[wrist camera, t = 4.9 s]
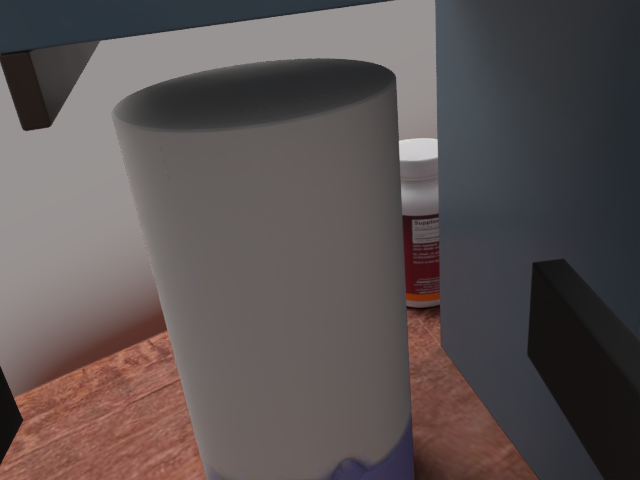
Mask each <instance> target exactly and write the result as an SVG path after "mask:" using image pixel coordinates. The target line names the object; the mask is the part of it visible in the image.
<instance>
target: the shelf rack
mask: <svg viewBox="0 0 640 480" xmlns="http://www.w3.org/2000/svg"><path fill="white" fill-rule="evenodd" d="M386 1H393V0H0V54H1V55H0V63H1V66H2V69H3V72H4V75H5V78H6V81H7V84H8V87H9V90H10V93H11V96H12V99H13V102H14V105H15V108H16V111H17V114H18V117H19V120H20V123H21V126H22V129H23V130H25V131H29V130H35V129H42V128H48V127H50V126H51V125H52V124H53V122H54V120H55V118H56V117H57V115H58V113H59V111H60V110H61V108H62V106H63V104H64V103H65V101H66V99H67V97H68V96H69V94H70V92H71V91H72V89H73V87H74V85H75V84H76V82H77V80H78V78H79V76H80V75H81V73H82V72H83V70H84V68H85V66H86V65H87V63H88V61H89V59H90V58H91V56H92V54H93V52H94V51H95V49H96V47H97V45H98V44H99V42H100V41H101V40H108V39H116V38H124V37H131V36H138V35H145V34H152V33H160V32H167V31H175V30H182V29H189V28H196V27H204V26H211V25H218V24H226V23H233V22H239V21H247V20H254V19H262V18H269V17H276V16H283V15H291V14H298V13H306V12H313V11H320V10H328V9H335V8H342V7H349V6H357V5H364V4H371V3H379V2H386ZM435 3H436V5H435V6H436V65H437V67H436V70H437V134H438V198H439V261H440V325H441V347H442V348H443V349H444V351H445V352H446V353H447V355H448V356H449V357H450V359H451V360H452V362H453V363H454V364H455V366H456V367H457V368H458V370H459V371H460V372H461V374H462V375H463V376H464V378H465V379H466V381H467V382H468V383H469V385H470V386H471V387H472V389H473V390H474V391H475V393H476V394H477V396H478V397H479V398H480V400H481V401H482V402H483V404H484V405H485V406H486V408H487V409H488V410H489V412H490V413H491V415H492V416H493V417H494V419H495V420H496V421H497V423H498V424H499V425H500V427H501V428H502V430H503V431H504V432H505V434H506V435H507V436H508V438H509V439H510V440H511V442H512V443H513V444H514V446H515V447H516V449H517V450H518V451H519V453H520V454H521V455H522V457H523V458H524V459H525V461H526V462H527V464H528V465H529V466H530V468H531V469H532V470H533V472H534V473H535V474H536V476H537V477H538V478H539V480H604V479H603V477H602V475H601V474H600V472H599V471H598V469H597V467H596V466H595V464H594V463H593V461H592V459H591V458H590V456H589V454H588V453H587V451H586V450H585V448H584V446H583V445H582V443H581V441H580V440H579V438H578V437H577V435H576V433H575V432H574V430H573V428H572V427H571V425H570V424H569V422H568V420H567V419H566V417H565V415H564V414H563V412H562V411H561V409H560V407H559V406H558V404H557V403H556V401H555V399H554V398H553V396H552V394H551V393H550V391H549V390H548V388H547V386H546V385H545V383H544V381H543V380H542V378H541V377H540V375H539V373H538V372H537V370H536V368H535V367H534V365H533V364H532V362H531V360H530V359H529V357H528V355H527V348H528V331H529V314H530V297H531V280H532V263H533V262H540V261H548V260H556V259H565V260H566V261H567V262H568V263H569V265H570V266H571V267H572V268H573V269H574V270H575V271H576V272H577V273H578V274H579V275H580V277H581V278H582V279H583V280H584V281H585V282H586V283H587V284H588V285H589V286H590V287H591V289H592V290H593V291H594V292H595V293H596V294H597V295H598V296H599V297H600V298H601V299H602V300H603V302H604V303H605V304H606V305H607V306H608V307H609V308H610V309H611V310H612V311H613V312H614V314H615V315H616V316H617V317H618V318H619V319H620V320H621V321H622V322H623V323H624V324H625V326H626V327H627V328H628V329H629V330H630V331H631V332H632V333H633V334H634V335H635V336H636V337H637V339H638V340H639V341H640V0H435Z"/></svg>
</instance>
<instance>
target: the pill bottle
mask: <svg viewBox="0 0 640 480" xmlns="http://www.w3.org/2000/svg"><path fill="white" fill-rule="evenodd" d="M399 155H400V177H401V199H402V221H403V243H404V264H405V286H406V306H409V307H416V308H424V307H432V306H437V305H440V261H439V198H438V139H431V138H430V139H429V138H418V139H407V140H402V141H399Z"/></svg>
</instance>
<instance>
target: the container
mask: <svg viewBox="0 0 640 480" xmlns="http://www.w3.org/2000/svg"><path fill="white" fill-rule="evenodd" d="M397 113H398V112H397V90H396V76H395V74H394V73H393V72H392V71H390V70H389V69H387V68H386V67H383V66H381V65H378V64H374V63H369V62H364V61H357V60H346V59H295V60H278V61H267V62H257V63H251V64H244V65H235V66H230V67H224V68H219V69H213V70H208V71H203V72H199V73H194V74H190V75H186V76H182V77H178V78H175V79H171V80H168V81H164V82H161V83H158V84H155V85H153V86H150V87H147V88H145V89H142V90H140V91H137V92H135V93H133V94H131V95H129V96H128V97H126V98H124V99H123V100H122V101H120V102H119V103H118V104H117V105H116V106H115V108H114V109H113V111H112V118H113V122H114V125H115V129H116V133H117V137H118V141H119V145H120V149H121V153H122V156H123V160H124V164H125V168H126V172H127V176H128V179H129V183H130V187H131V191H132V195H133V199H134V202H135V206H136V210H137V214H138V218H139V221H140V226H141V230H142V233H143V237H144V241H145V245H146V249H147V252H148V257H149V260H150V264H151V268H152V272H153V276H154V280H155V284H156V287H157V291H158V295H159V299H160V303H161V307H162V310H163V314H164V318H165V322H166V326H167V330H168V334H169V337H170V341H171V345H172V349H173V353H174V357H175V361H176V364H177V368H178V372H179V376H180V380H181V384H182V388H183V391H184V395H185V399H186V403H187V407H188V411H189V414H190V418H191V422H192V426H193V430H194V434H195V438H196V441H197V445H198V449H199V453H200V457H201V461H202V465H203V468H204V472H205V476H206V480H414V461H413V439H412V417H411V395H410V374H409V352H408V330H407V308H406V286H405V264H404V243H403V221H402V199H401V177H400V155H399V135H398V134H399V133H398V114H397Z"/></svg>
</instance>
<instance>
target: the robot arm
mask: <svg viewBox="0 0 640 480" xmlns="http://www.w3.org/2000/svg"><path fill="white" fill-rule="evenodd" d="M527 355H528V357H529V359H530V360H531V362H532V364H533V365H534V367H535V368H536V370H537V372H538V373H539V375H540V377H541V378H542V380H543V381H544V383H545V385H546V386H547V388H548V390H549V391H550V393H551V394H552V396H553V398H554V399H555V401H556V403H557V404H558V406H559V407H560V409H561V411H562V412H563V414H564V415H565V417H566V419H567V420H568V422H569V424H570V425H571V427H572V428H573V430H574V432H575V433H576V435H577V437H578V438H579V440H580V441H581V443H582V445H583V446H584V448H585V450H586V451H587V453H588V454H589V456H590V458H591V459H592V461H593V463H594V464H595V466H596V467H597V469H598V471H599V472H600V474H601V475H602V477H603V479H604V480H640V341H639V340H638V339H637V337H636V336H635V335H634V334H633V333H632V332H631V331H630V330H629V329H628V328H627V327H626V326H625V324H624V323H623V322H622V321H621V320H620V319H619V318H618V317H617V316H616V315H615V314H614V312H613V311H612V310H611V309H610V308H609V307H608V306H607V305H606V304H605V303H604V302H603V300H602V299H601V298H600V297H599V296H598V295H597V294H596V293H595V292H594V291H593V290H592V289H591V287H590V286H589V285H588V284H587V283H586V282H585V281H584V280H583V279H582V278H581V277H580V275H579V274H578V273H577V272H576V271H575V270H574V269H573V268H572V267H571V266H570V265H569V263H568V262H567V261H566V260H565V259H556V260H548V261H540V262H533V263H532V280H531V297H530V314H529V331H528V348H527ZM22 422H23V419H22V416H21V414H20V412H19V409H18V407H17V405H16V402H15V400H14V397H13V395H12V393H11V390H10V388H9V386H8V383H7V381H6V379H5V376H4V374H3V372H2V369H1V367H0V464H1V462H2V460H3V458H4V456H5V454H6V453H7V451H8V449H9V447H10V445H11V443H12V441H13V439H14V437H15V435H16V433H17V431H18V429H19V427H20V426H21V424H22Z"/></svg>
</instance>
